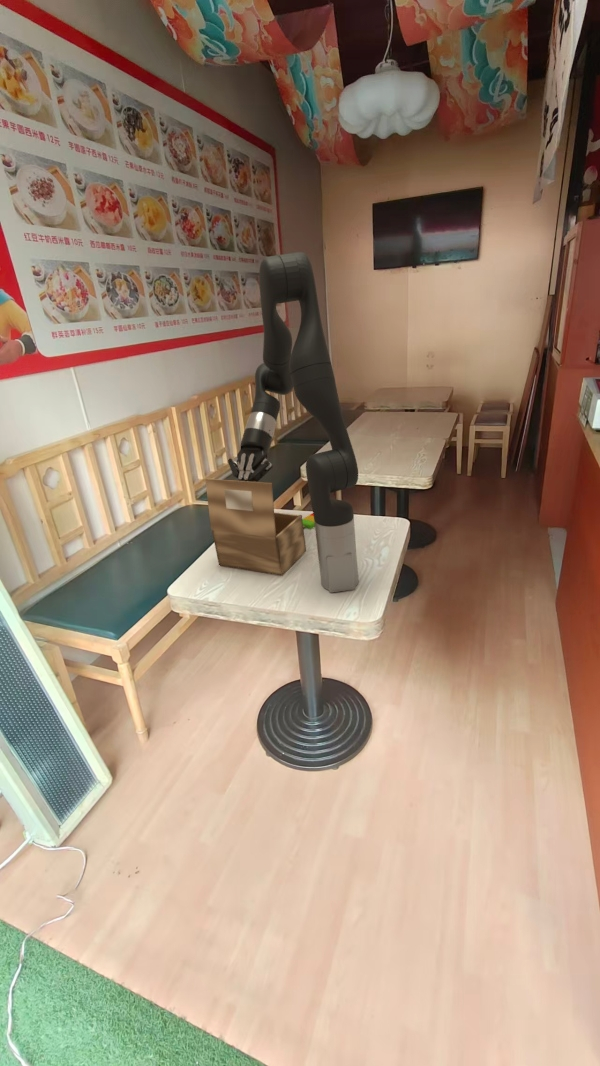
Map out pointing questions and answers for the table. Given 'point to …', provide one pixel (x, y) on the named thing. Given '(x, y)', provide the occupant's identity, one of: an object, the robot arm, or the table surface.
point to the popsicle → (309, 521)
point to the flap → (241, 507)
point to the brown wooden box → (263, 547)
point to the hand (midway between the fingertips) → (241, 495)
